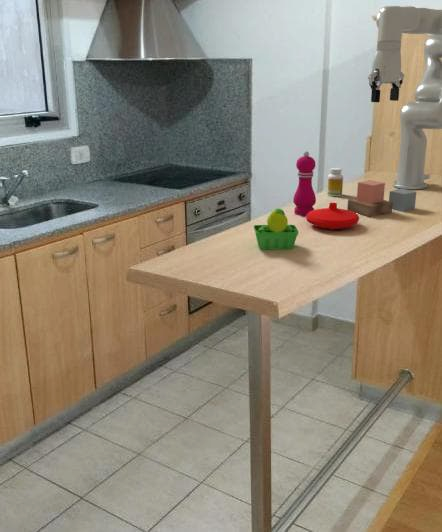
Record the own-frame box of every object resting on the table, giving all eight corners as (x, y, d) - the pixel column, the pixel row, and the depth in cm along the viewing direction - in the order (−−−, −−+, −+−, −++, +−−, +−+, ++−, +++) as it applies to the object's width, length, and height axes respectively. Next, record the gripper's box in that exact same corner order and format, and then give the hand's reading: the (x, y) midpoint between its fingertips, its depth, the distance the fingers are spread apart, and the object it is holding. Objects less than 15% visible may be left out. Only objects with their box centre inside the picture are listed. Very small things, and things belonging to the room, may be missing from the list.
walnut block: (370, 207, 202) (371, 196, 201) (391, 214, 194) (392, 202, 192) (347, 211, 197) (347, 199, 196) (367, 218, 189) (368, 206, 188)
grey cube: (399, 206, 202) (401, 188, 200) (414, 209, 198) (416, 191, 196) (388, 208, 199) (389, 191, 197) (403, 212, 195) (405, 194, 193)
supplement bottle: (343, 196, 216) (344, 169, 213) (328, 196, 216) (329, 170, 213) (340, 193, 221) (342, 167, 218) (326, 193, 221) (327, 167, 218)
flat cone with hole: (365, 223, 183) (367, 200, 180) (348, 236, 170) (350, 212, 168) (316, 217, 190) (317, 195, 188) (297, 229, 177) (297, 206, 175)
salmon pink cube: (368, 198, 198) (369, 180, 196) (383, 201, 194) (384, 182, 192) (356, 200, 195) (357, 182, 193) (371, 204, 190) (373, 185, 188)
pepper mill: (289, 214, 193) (291, 152, 186) (297, 209, 199) (299, 149, 192) (310, 217, 190) (313, 153, 183) (318, 212, 196) (321, 150, 189)
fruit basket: (294, 241, 165) (295, 201, 162) (299, 251, 157) (300, 210, 153) (252, 242, 165) (253, 202, 161) (255, 252, 157) (256, 210, 153)
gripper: (396, 47, 204) (392, 99, 210) (362, 47, 194) (358, 102, 200) (414, 47, 198) (410, 100, 204) (380, 47, 189) (376, 103, 194)
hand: (384, 101), depth 202 cm, fingers open, 9 cm apart
